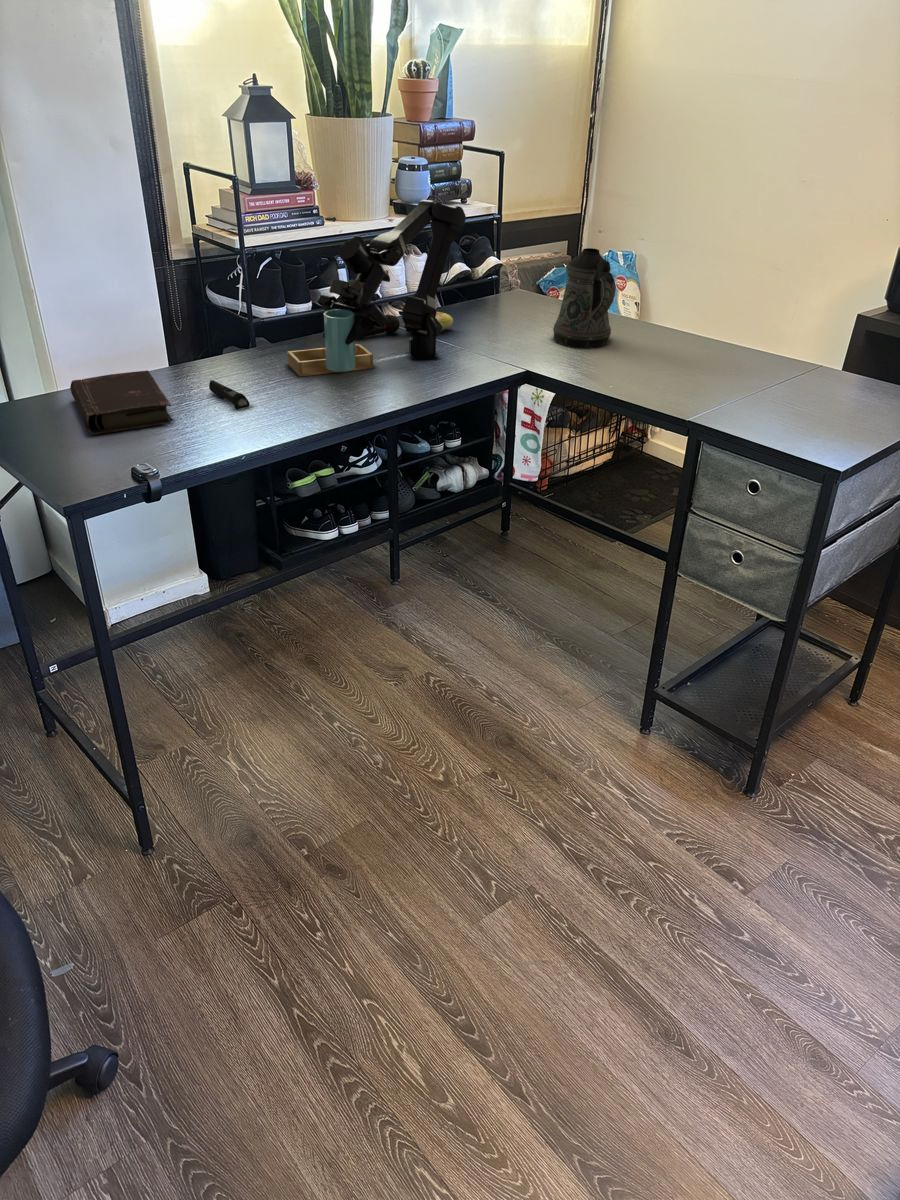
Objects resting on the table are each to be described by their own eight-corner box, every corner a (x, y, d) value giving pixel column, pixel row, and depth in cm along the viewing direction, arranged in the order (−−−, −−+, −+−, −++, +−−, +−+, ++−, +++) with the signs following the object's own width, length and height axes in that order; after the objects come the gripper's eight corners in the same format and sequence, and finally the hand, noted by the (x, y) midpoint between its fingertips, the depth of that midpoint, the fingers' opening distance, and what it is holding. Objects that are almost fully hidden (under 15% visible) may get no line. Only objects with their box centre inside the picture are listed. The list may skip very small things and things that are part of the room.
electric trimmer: (220, 390, 214) (219, 377, 212) (251, 407, 204) (249, 393, 202) (206, 393, 212) (204, 380, 210) (236, 410, 202) (234, 397, 200)
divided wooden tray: (360, 357, 239) (359, 343, 237) (373, 368, 231) (373, 354, 229) (288, 365, 232) (287, 351, 230) (299, 376, 224) (298, 362, 222)
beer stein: (570, 329, 266) (577, 241, 253) (628, 341, 257) (639, 250, 244) (541, 341, 255) (548, 249, 242) (602, 354, 245) (612, 259, 232)
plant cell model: (461, 324, 260) (420, 310, 251) (449, 347, 263) (408, 335, 254) (445, 307, 267) (404, 293, 257) (434, 331, 270) (393, 318, 261)
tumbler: (353, 361, 222) (352, 308, 215) (356, 371, 216) (355, 318, 209) (325, 362, 221) (322, 309, 213) (326, 372, 215) (324, 318, 208)
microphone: (341, 353, 252) (402, 335, 260) (341, 335, 248) (403, 318, 255) (333, 342, 255) (393, 325, 262) (332, 325, 250) (394, 308, 258)
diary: (88, 436, 187) (83, 413, 184) (72, 400, 205) (68, 379, 203) (177, 423, 194) (174, 401, 191) (154, 390, 213) (151, 369, 210)
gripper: (320, 259, 213) (289, 314, 212) (376, 270, 203) (344, 328, 202) (345, 287, 223) (315, 340, 221) (400, 299, 213) (369, 355, 211)
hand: (335, 340), depth 214 cm, fingers closed on tumbler, 7 cm apart
